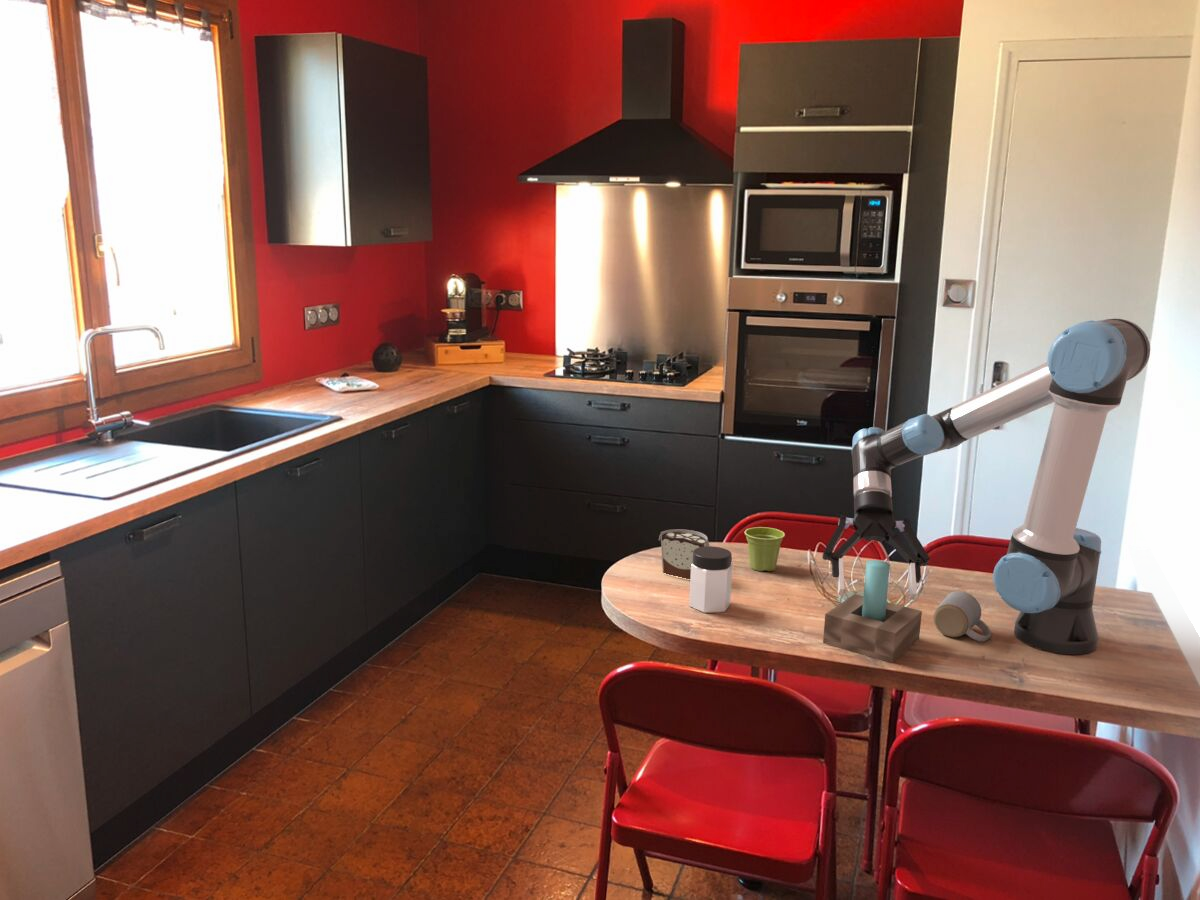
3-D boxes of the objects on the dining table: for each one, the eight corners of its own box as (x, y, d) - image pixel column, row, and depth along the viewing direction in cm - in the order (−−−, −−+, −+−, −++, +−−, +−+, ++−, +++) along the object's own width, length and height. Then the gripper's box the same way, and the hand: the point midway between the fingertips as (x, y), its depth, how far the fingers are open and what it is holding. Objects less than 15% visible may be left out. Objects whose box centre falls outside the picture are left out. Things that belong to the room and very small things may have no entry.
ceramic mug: (929, 633, 199) (933, 598, 197) (941, 621, 205) (946, 586, 203) (983, 648, 193) (988, 611, 191) (994, 635, 199) (999, 599, 197)
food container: (716, 576, 228) (719, 535, 226) (705, 584, 223) (707, 541, 221) (669, 565, 234) (671, 525, 232) (657, 573, 229) (658, 531, 227)
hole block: (919, 639, 196) (921, 611, 194) (892, 662, 185) (895, 633, 183) (852, 621, 204) (854, 593, 202) (822, 642, 193) (825, 614, 192)
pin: (886, 635, 194) (893, 563, 191) (878, 642, 191) (884, 569, 188) (865, 629, 197) (871, 558, 194) (856, 636, 194) (862, 564, 190)
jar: (738, 607, 210) (741, 554, 207) (711, 616, 204) (714, 561, 202) (708, 595, 216) (710, 543, 214) (681, 603, 211) (683, 550, 209)
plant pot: (734, 567, 234) (736, 532, 232) (755, 558, 241) (757, 524, 239) (769, 577, 228) (771, 541, 226) (789, 567, 235) (792, 532, 233)
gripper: (932, 510, 203) (939, 606, 192) (808, 503, 206) (809, 597, 195) (939, 492, 197) (948, 590, 185) (812, 485, 200) (813, 581, 188)
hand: (877, 594), depth 190 cm, fingers open, 13 cm apart
